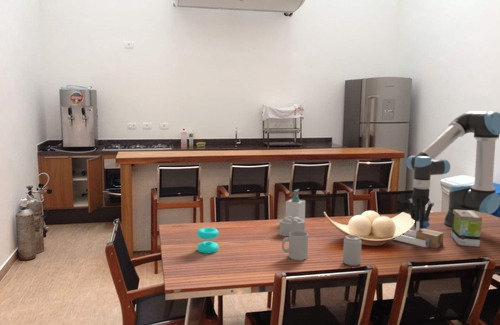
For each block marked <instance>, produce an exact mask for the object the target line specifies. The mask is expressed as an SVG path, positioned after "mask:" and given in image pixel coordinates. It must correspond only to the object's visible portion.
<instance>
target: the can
mask: <svg viewBox="0 0 500 325" xmlns="http://www.w3.org/2000/svg"><path fill="white" fill-rule="evenodd" d="M362 244H363V243H362V240H361V237H360V236H358V235H356V234H354V235H353V234H349V235H345V237H344V239H343V244H342V245H343V249H342V250H343V251H342V262H343V263H344V264H345V265H346V266H349V267H357V266H359V265H360V264H361V263H362Z"/></svg>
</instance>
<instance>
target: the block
mask: <svg viewBox="0 0 500 325" xmlns="http://www.w3.org/2000/svg"><path fill="white" fill-rule="evenodd" d="M416 238H417V239H422V240H426V239H430V240H429V248H433V249H437V248H439V247H440V246H442V245H443V244H444V232H441V231H438V230H432V229H428V228H427V229H424V228H423V229H421V230H419V231H417V232H416Z"/></svg>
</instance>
